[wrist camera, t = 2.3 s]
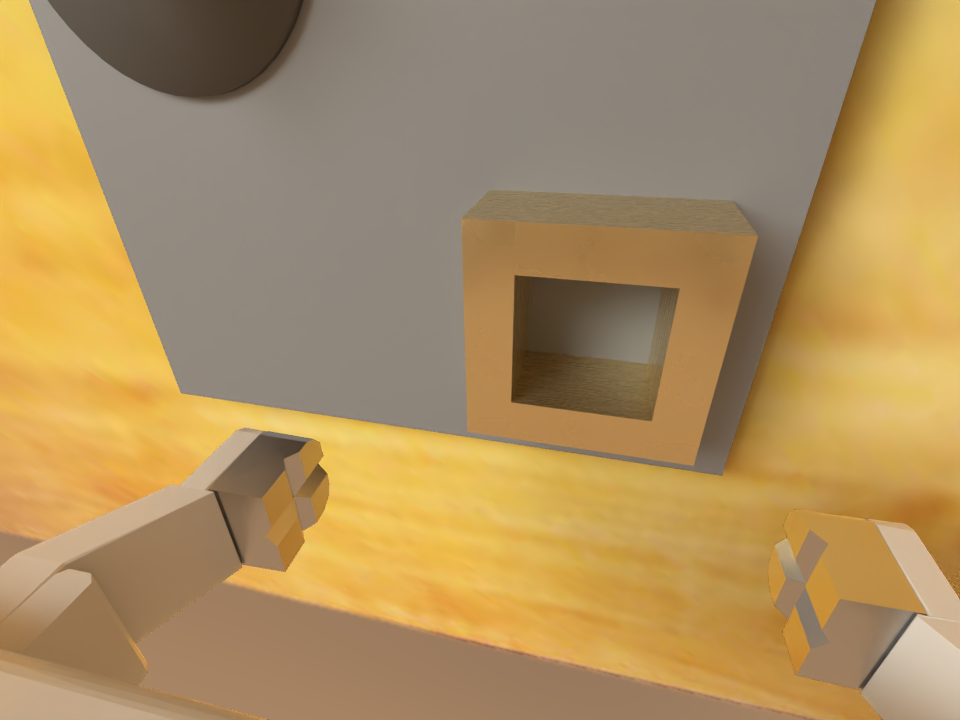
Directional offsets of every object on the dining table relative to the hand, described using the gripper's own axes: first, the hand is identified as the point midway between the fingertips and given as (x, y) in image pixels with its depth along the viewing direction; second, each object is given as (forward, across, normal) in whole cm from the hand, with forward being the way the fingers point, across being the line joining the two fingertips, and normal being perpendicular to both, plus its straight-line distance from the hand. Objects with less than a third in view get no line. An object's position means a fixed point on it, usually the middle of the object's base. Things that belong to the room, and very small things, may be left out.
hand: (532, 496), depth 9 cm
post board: (+10, +5, -5) cm, 12 cm away
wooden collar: (+8, -1, 0) cm, 8 cm away
